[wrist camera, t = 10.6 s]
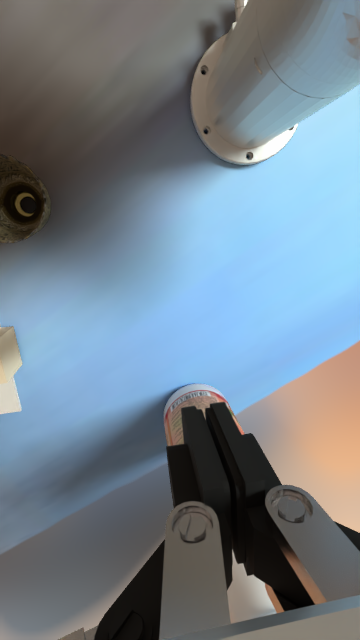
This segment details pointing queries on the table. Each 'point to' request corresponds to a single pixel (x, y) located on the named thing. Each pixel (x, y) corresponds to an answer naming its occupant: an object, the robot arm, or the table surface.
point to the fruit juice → (244, 590)
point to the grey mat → (9, 397)
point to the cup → (5, 201)
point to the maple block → (8, 354)
